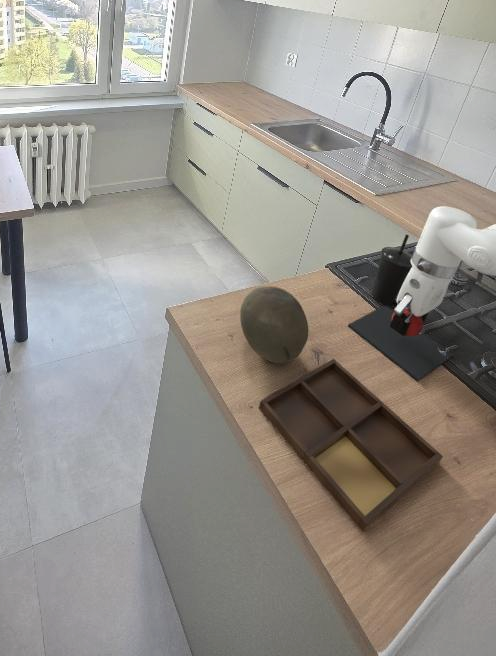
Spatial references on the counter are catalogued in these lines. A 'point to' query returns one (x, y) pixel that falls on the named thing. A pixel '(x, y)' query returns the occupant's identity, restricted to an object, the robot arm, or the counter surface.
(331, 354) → the counter surface
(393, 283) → the drinking cup
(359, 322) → the mat
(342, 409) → the tray
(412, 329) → the onion
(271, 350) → the grey-brown oval ball
